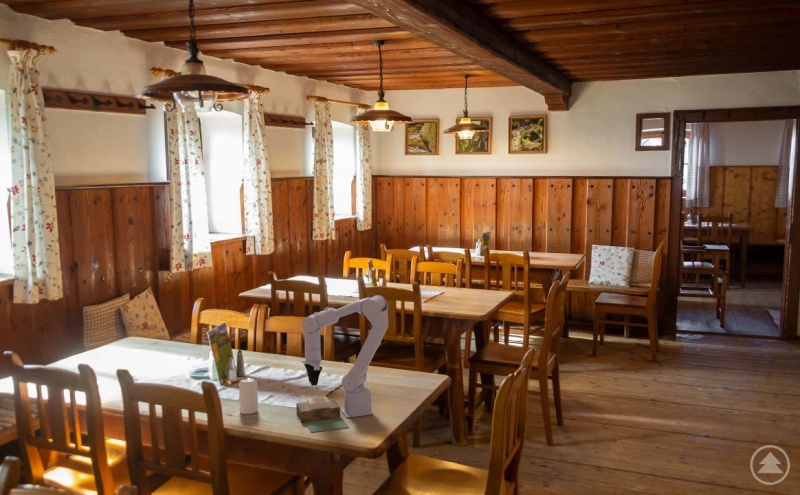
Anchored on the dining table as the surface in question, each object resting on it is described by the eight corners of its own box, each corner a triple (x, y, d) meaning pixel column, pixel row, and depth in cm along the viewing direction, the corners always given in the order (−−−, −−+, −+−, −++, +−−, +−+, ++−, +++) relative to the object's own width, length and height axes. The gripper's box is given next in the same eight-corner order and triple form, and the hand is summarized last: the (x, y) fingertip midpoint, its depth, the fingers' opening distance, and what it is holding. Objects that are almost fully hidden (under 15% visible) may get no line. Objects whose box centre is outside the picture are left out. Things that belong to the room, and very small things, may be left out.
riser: (334, 409, 246) (334, 398, 245) (340, 418, 237) (340, 407, 237) (296, 413, 241) (296, 403, 241) (301, 422, 233) (301, 411, 232)
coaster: (326, 401, 242) (326, 396, 242) (329, 407, 237) (329, 401, 237) (307, 403, 240) (306, 398, 240) (310, 409, 234) (310, 404, 234)
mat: (341, 418, 237) (341, 417, 237) (348, 427, 228) (348, 427, 228) (305, 422, 233) (305, 421, 233) (311, 432, 224) (311, 432, 224)
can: (259, 408, 247) (258, 376, 246) (256, 414, 241) (255, 382, 239) (241, 408, 247) (240, 377, 245) (238, 415, 240) (237, 382, 239)
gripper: (298, 343, 250) (298, 378, 251) (305, 353, 236) (306, 391, 238) (316, 342, 252) (317, 377, 254) (325, 352, 238) (325, 388, 240)
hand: (313, 383), depth 246 cm, fingers open, 3 cm apart
